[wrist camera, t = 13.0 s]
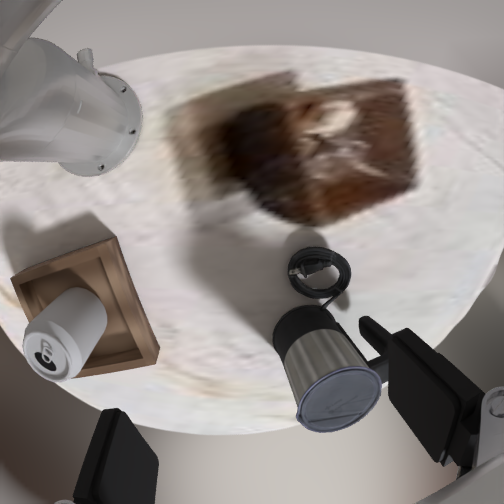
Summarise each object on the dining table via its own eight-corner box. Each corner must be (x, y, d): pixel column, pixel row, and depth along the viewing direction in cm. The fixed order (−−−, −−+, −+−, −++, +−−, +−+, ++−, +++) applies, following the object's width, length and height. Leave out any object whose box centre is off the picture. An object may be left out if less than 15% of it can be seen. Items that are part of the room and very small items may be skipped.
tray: (24, 269, 34) (10, 278, 30) (116, 236, 35) (105, 243, 31) (69, 365, 38) (60, 380, 34) (160, 347, 39) (155, 364, 35)
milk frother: (292, 372, 42) (321, 444, 28) (229, 294, 38) (238, 361, 24) (372, 317, 42) (428, 372, 28) (323, 229, 38) (382, 261, 23)
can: (53, 314, 35) (11, 359, 23) (72, 273, 34) (25, 311, 22) (96, 345, 37) (65, 399, 25) (118, 307, 36) (86, 358, 24)
